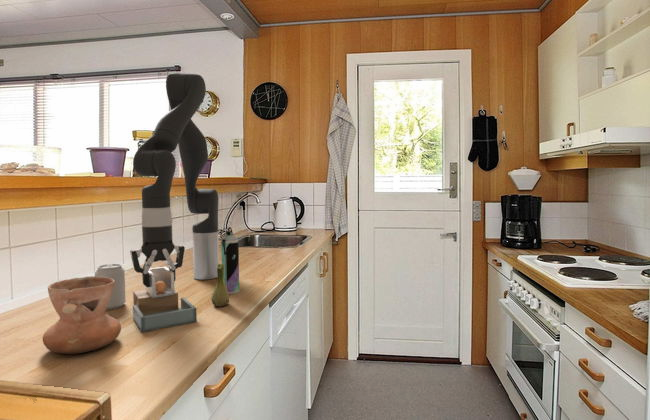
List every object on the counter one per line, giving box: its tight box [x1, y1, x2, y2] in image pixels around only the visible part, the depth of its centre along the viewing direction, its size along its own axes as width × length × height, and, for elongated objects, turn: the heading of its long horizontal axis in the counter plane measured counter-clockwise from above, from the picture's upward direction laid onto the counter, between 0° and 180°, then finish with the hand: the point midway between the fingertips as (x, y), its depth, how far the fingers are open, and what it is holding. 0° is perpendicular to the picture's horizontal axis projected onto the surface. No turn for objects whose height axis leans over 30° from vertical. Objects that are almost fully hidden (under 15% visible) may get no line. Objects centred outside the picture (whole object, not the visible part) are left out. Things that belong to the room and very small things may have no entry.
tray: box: [132, 296, 198, 333], centre depth 103 cm, size 12×13×4 cm
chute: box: [145, 266, 176, 298], centre depth 109 cm, size 9×6×6 cm, turn 35°
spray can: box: [220, 230, 240, 295], centre depth 129 cm, size 6×6×20 cm
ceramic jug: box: [42, 275, 122, 355], centre depth 86 cm, size 18×14×14 cm
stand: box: [132, 288, 179, 314], centre depth 111 cm, size 9×10×5 cm
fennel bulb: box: [211, 263, 230, 307], centre depth 115 cm, size 6×5×12 cm
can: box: [94, 263, 127, 311], centre depth 114 cm, size 8×8×12 cm
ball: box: [155, 281, 166, 292], centre depth 107 cm, size 3×3×3 cm
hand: (159, 284), depth 109 cm, fingers closed on chute, 5 cm apart
